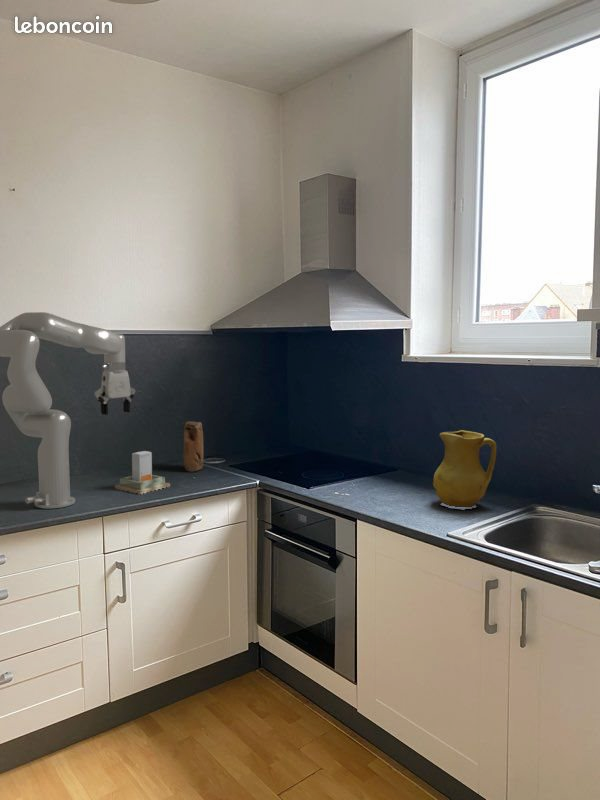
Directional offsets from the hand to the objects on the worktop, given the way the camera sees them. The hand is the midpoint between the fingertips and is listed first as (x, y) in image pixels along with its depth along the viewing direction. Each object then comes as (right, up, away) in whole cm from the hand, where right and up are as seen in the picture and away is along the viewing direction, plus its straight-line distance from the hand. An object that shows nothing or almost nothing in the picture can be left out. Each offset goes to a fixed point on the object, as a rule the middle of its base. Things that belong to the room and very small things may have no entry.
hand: (115, 413), depth 234 cm
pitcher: (+123, -31, -25) cm, 129 cm away
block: (+24, -24, +28) cm, 44 cm away
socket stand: (+11, -27, -3) cm, 30 cm away
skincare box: (+11, -27, -3) cm, 29 cm away
